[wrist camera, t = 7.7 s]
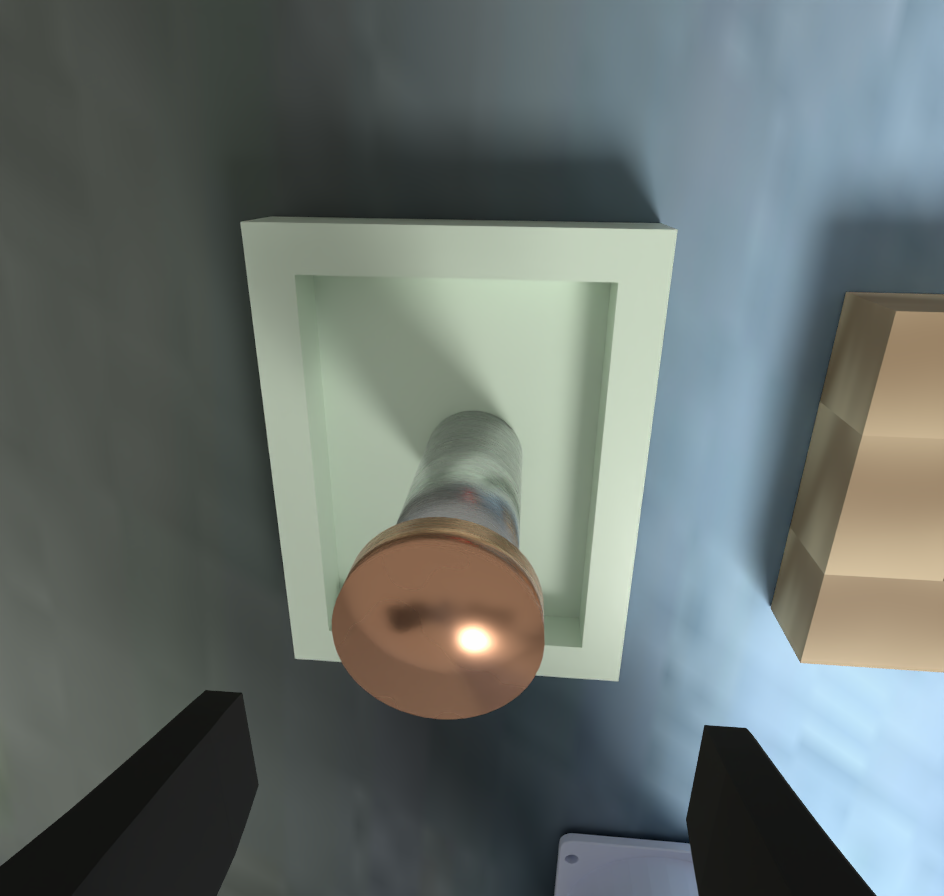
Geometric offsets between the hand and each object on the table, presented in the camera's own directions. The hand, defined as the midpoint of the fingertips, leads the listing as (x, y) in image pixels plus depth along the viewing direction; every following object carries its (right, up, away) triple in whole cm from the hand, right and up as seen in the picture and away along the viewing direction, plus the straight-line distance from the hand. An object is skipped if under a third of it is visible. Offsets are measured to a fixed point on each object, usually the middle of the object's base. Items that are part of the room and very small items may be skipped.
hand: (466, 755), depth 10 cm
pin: (0, +5, +9) cm, 10 cm away
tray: (0, +5, +9) cm, 10 cm away
